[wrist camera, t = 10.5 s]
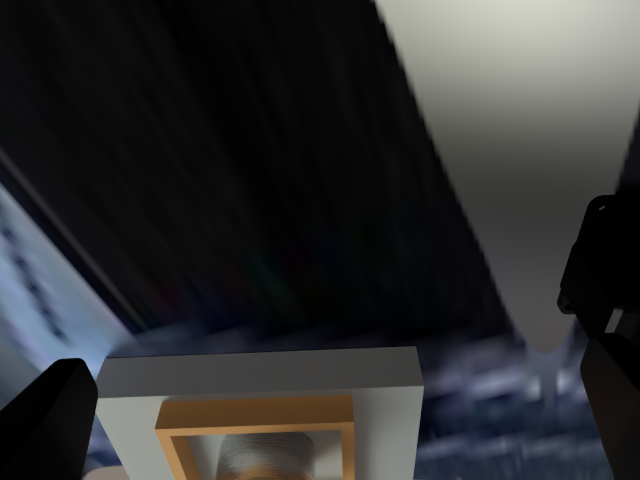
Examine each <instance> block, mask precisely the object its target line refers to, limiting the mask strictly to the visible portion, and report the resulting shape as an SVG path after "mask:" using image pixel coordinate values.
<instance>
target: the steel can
mask: <svg viewBox="0 0 640 480" xmlns="http://www.w3.org/2000/svg"><path fill="white" fill-rule="evenodd" d="M215 480H316V467H315V446H314V444H313V442H312V440H311V439H310V438H309V437H308V436H306V435H305V434H304V433H302V432H300V431H298V432H271V433H244V434H228V435H227V436H226V437H225V438H224V439H223V441H222V442H221V445H220V450H219V457H218V464H217V471H216V478H215Z"/></svg>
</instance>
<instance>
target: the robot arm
mask: <svg viewBox="0 0 640 480" xmlns="http://www.w3.org/2000/svg"><path fill="white" fill-rule="evenodd" d="M602 206H605V208H603V209H602V210H599V208H600V207H602ZM598 210H599V211H598ZM560 288H561V291H560V294H559V297H558V300H557V305H558V307H559V309H560V311H561V312H562V313H564V314H576V316H577V318H578V320H579V321H580V323H581V325H582V327H583V329H584V330H585V332H586V334H587V336H588V337H589V339H590V340H589V343H588V346H587V348H586V351H585V353H584V356H583V359H582V361H581V365H580V373H581V378H582V381H583V384H584V387H585V390H586V394H587V397H588V400H589V403H590V406H591V410H592V413H593V416H594V419H595V422H596V426H597V429H598V432H599V435H600V438H601V442H602V445H603V448H604V451H605V454H606V457H607V459H608V462H609V464H610V467H611V469H612V472H613V475H614V479H615V480H640V194H620V195H602V196H598V197H596V198H594V199H593V200H592V201H591V202H590V203H589V205H588V207H587V210H586V213H585V216H584V219H583V222H582V225H581V229H580V232H579V235H578V238H577V241H576V242H575V244H574V245H573V246H572V249H571V252H570V255H569V258H568V262H567V265H566V268H565V271H564V274H563V277H562V280H561V283H560ZM97 401H98V388H97V385H96V383H95V381H94V379H93V377H92V375H91V373H90V371H89V369H88V367H87V365H86V363H85V361H84V360H82V359H81V358H68V359H59V360H57V361H55V362H54V363H53V364H52V365H51V366H49V367H48V368H47V369H46V370H45V371H44V372H43V373H42V374H41V375H39V376H38V377H37V378H36V379H35V380H34V381H33V382H32V383H31V384H29V385H28V386H27V387H26V388H25V389H24V390H23V391H22V392H21V393H19V394H18V395H17V396H16V397H15V398H14V399H13V400H12V401H11V402H10V403H8V404H7V405H6V406H5V407H4V408H3V409H2V410H1V411H0V480H81V478H82V474H83V470H84V465H85V460H86V455H87V450H88V446H89V441H90V436H91V431H92V426H93V421H94V416H95V411H96V406H97Z"/></svg>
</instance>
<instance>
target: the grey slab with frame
mask: <svg viewBox="0 0 640 480" xmlns="http://www.w3.org/2000/svg"><path fill="white" fill-rule="evenodd" d="M95 383H96V385H97V388H98V401H97V406H96V411H95V412H96V414H97V416H98V418H99V420H100V422H101V424H102V426H103V428H104V430H105V432H106V434H107V436H108V438H109V439H110V441H111V443H112V445H113V447H114V449H115V451H116V453H117V455H118V457H119V459H120V461H121V463H122V465H123V466H124V468H125V470H126V472H127V474H128V476H129V478H130V480H215V478H216V471H217V464H218V457H219V450H220V445H221V442H222V441H223V439H224V438H225V437H226V436H227V435H228V434H244V433H271V432H298V431H300V432H302V433H304V434H305V435H306V436H308V437H309V438H310V439H311V440H312V442H313V444H314V446H315V467H316V480H413V473H414V465H415V457H416V449H417V440H418V432H419V424H420V416H421V408H422V400H423V392H424V383H423V378H422V373H421V368H420V363H419V359H418V354H417V349H416V346H409V347H384V348H359V349H334V350H309V351H284V352H259V353H233V354H208V355H183V356H158V357H133V358H108V359H104V362H103V364H102V367H101V369H100V372H99V374H98V377H97V379H96V381H95Z"/></svg>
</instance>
